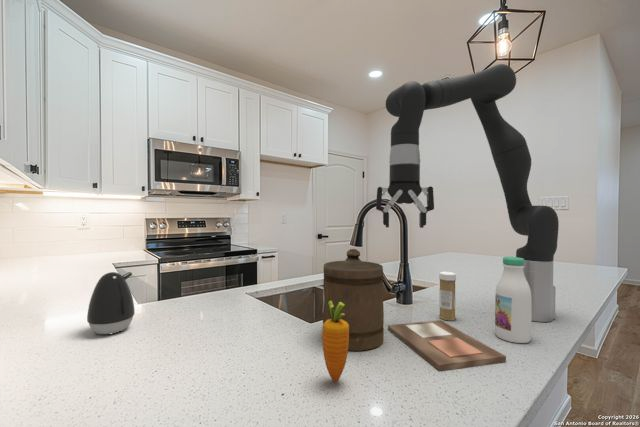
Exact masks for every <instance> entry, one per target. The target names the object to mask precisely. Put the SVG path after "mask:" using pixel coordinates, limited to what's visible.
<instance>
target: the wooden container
mask: <svg viewBox="0 0 640 427" xmlns="http://www.w3.org/2000/svg"><path fill="white" fill-rule="evenodd" d="M360 256H361V251H359V250H358V249H356V248H350V249H349V250H347V251H346V258H345V260H335V261H329V262H326V263H324V264H323V287H322V288H323V289H322V290H323V292H322V325H323V324H324V323H325V322H326V321H327V320H328V319H332V317H331V313H330V306H329V303H328V302H329V301H332V303H333V305H334V313H335V310H336V308H337V305H338V304H339V302H342V303H343V304H345V305H344V307H343V308H342V309H341V311H340V313H339V315H340V314H341V313H344V314H345V315H344V316H343V317H342V318H341V319H342V320H344V321H346V322H347V323H348V324H349V345H348V352H349V351H350V352H361V351H369V350H373V349H376V348H379V347H380V346H382V344H383V343H384V332H385V330H384V321H385V320H384V318H385V317H384V316H385V314H384V312H385V311H384V267H383V266H384V265H382V264H380V263H377V262H373V261H371V262H370V261H363V260H361V259H360V258H359V257H360Z"/></svg>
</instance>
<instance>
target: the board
mask: <svg viewBox="0 0 640 427" xmlns="http://www.w3.org/2000/svg"><path fill="white" fill-rule="evenodd" d="M387 330H388V331H389V332H390V333H391V334H393V335H394V336H395V337H396V338H398V339H399V340H400V341H401V342H402V343H403V344H405V345H406V346H408V348H410V349H411V350H412V351H414V352H415V353H416V354H417V355H418V356H420V357H421V358H422V359H423V360H425V361H426V362H427V363H428V364H429V365H431V366H433V367H434V368H435V369H436V370H437V371H438V372H442V371H448V370H449V371H450V370H457V369H464V368H471V367H479V366H487V365H491V364H492V365H493V364H500V363H501V364H502V363H506V362H507V356H506V355H505V354H503V353H501V352H499V351H497V350H496V349H494V348H492V347H490V346H489V345H487V344H485V343H483V342H481V341H479V340H478V339H476V338H474V337H472V336H470V335H469V334H466V333H465V332H463V331H461V330H458V329H457V328H456V327H454V326H452V325H450V324H448V323H447V322H445V321H443V320H442V319H441V320H430V321H419V322H410V323H409V322H408V323H399V324H398V323H396V324H387Z"/></svg>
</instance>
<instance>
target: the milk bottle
mask: <svg viewBox="0 0 640 427" xmlns="http://www.w3.org/2000/svg"><path fill="white" fill-rule="evenodd" d="M524 263H525V261H524V259H523V258H519V257H516V256H504V257H503V258H502V266H503V271H502V274H501V276H500V278H499V279H498V281H497V285H496V288H495V295H494V296H495V301H494V302H495V305H494V306H495V307H494V333H495V335H496V337H498V339H501V340H504V341H507V342H511V343H515V344H528V343H530V342H531V341H532V320H531V316H532V301H531V290H530V287H529V284H528V282H527V280H526V278H525V275H524V272H523V268H524Z"/></svg>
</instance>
